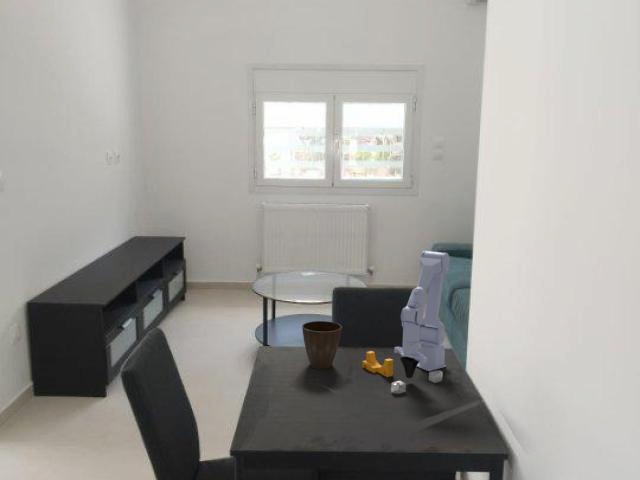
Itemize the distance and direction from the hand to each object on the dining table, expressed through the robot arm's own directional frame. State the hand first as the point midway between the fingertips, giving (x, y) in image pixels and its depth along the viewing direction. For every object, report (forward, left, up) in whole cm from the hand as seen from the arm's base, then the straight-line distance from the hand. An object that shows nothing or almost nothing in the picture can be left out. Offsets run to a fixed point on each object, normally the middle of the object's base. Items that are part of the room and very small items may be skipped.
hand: (409, 377), depth 212 cm
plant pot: (+17, -30, -2) cm, 35 cm away
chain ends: (0, +4, -2) cm, 4 cm away
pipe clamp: (+3, -14, -2) cm, 14 cm away
